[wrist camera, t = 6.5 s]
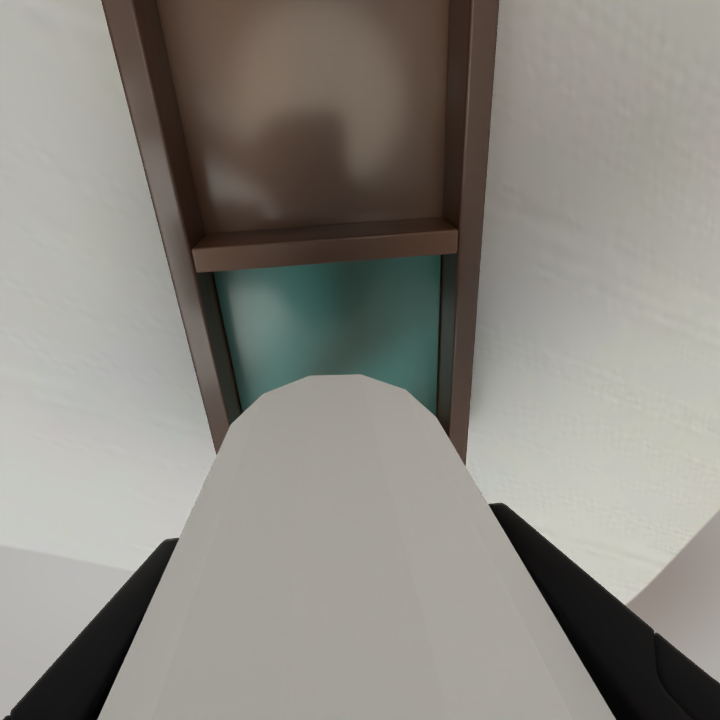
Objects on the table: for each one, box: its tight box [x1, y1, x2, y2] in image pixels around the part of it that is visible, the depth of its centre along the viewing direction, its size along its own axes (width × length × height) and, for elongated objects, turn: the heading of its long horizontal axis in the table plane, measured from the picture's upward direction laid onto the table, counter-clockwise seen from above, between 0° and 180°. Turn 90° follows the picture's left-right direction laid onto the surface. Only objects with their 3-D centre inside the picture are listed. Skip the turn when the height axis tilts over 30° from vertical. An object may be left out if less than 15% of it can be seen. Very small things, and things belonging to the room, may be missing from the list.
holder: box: [101, 0, 499, 466], centre depth 16 cm, size 10×19×3 cm, turn 3°
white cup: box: [97, 374, 616, 720], centre depth 8 cm, size 7×7×7 cm
